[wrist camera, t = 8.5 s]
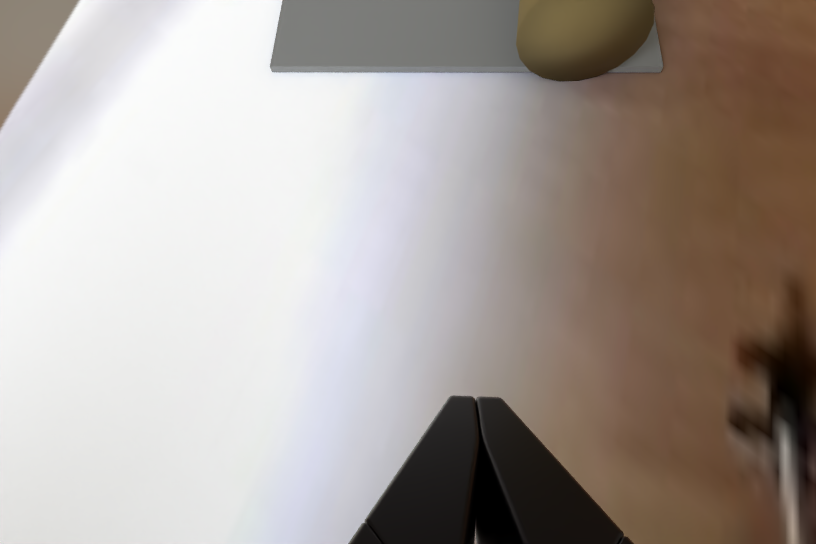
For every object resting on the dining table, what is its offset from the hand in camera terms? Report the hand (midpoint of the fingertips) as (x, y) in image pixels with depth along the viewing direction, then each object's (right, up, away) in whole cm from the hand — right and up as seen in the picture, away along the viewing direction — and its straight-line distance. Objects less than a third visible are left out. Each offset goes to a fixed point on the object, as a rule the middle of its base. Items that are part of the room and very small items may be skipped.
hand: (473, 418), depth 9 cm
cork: (+7, +13, +16) cm, 22 cm away
